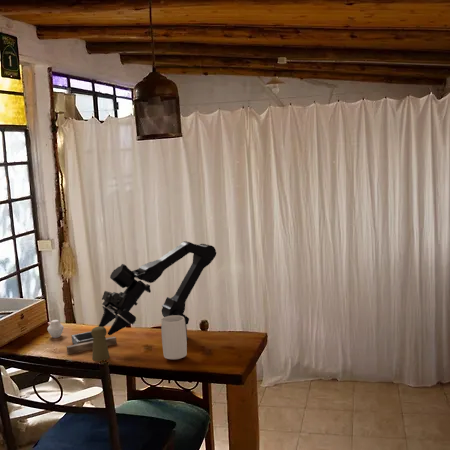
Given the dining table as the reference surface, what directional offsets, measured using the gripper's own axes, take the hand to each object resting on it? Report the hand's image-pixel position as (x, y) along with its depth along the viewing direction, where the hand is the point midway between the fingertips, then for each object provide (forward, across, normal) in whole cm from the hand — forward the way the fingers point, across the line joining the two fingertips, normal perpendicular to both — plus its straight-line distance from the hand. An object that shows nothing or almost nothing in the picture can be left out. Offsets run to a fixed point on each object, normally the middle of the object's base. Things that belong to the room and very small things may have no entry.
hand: (103, 331), depth 195 cm
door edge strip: (+7, -11, +6) cm, 15 cm away
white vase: (+12, -34, +1) cm, 36 cm away
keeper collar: (+7, -19, +6) cm, 21 cm away
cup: (-7, +18, +20) cm, 27 cm away
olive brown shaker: (+8, 0, +6) cm, 10 cm away
